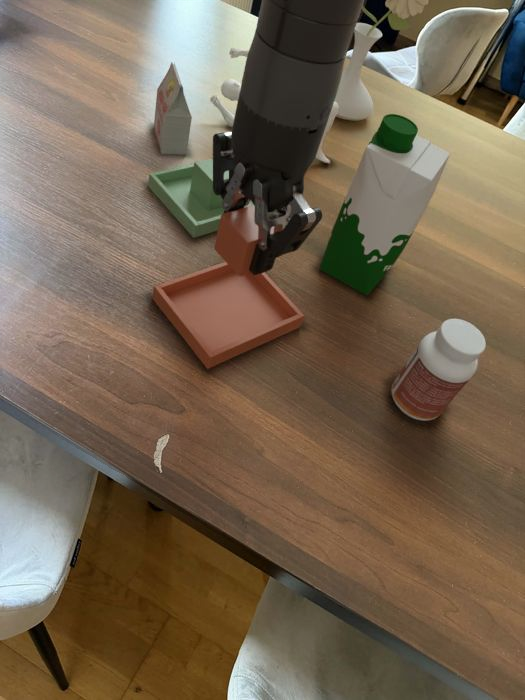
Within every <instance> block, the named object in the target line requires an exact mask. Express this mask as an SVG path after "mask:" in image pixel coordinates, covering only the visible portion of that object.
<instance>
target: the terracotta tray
mask: <svg viewBox="0 0 525 700" xmlns="http://www.w3.org/2000/svg"><path fill="white" fill-rule="evenodd" d="M152 299H153V302H154V303H156V305H157V306H158V308H159V309H160V310H161V311H162V313H163V314H164V315H165V316H166V318H167V319H168V321H170V323H171V324H172V325H173V327H174V328H175V329H176V331H177V332H178V333H179V334H180V336H181V337H182V338H183V339H184V341H185V342H186V343H187V345H188V346H189V347H190V349H191V350H192V351H193V353H194V354H195V355H196V357H197V358H198V359H199V360H200V361H201V364H203V365H204V367H205V368H206V369H207V370H209V369H212V368H213V367H215V366H217V365H219V364H222V363H223V362H227V361H229V360H230V359H233V358H235V357H237V356H240V355H241V354H243V353H246V352H248V351H250V350H253V349H255V348H257V347H260V346H263V344H266V343H268V342H270V341H272V340H275V339H277V338H279V337H282V336H283V335H286V334H288V333H290V332H292V331H295V330H297V329H299V328H301V326H302V323H303V322H304V319H305V317H306V316H305V314H304V313H303V312H302V311H301V310H300V309H299V308H298V307H297V306H296V304H294V302H293V301H292V300H291V299H290V298H289V297H288V296H287V294H285V293H284V292H283V290H282V289H281V288H280V287H279V286H278V284H276V283H275V281H273V279H272V278H271V277H270V276H269V275H268V274H267V273H266V272H264V273H261V274H257V275H253V274H252V273H251V272H250V273H248V274H245V275H242V276H238V275H237V274H236V273H235V272H234V271H233V269H232V268H231V267H230V266H229V265H228V264H227V263H226V262H225V261H223V262H219V263H217V264H214V265H212V266H211V265H210V266H208V267H205V268H202V269H200V270H197V271H194V272H191V273H188V274H185V275H182V276H179V277H176V278H174V279H169V280H167V281H164V282H162V283H159V284H156V285H154V286H153V291H152Z"/></svg>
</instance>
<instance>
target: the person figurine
mask: <svg viewBox="0 0 525 700" xmlns="http://www.w3.org/2000/svg"><path fill="white" fill-rule="evenodd" d="M248 52H249V49H248V50H247V49H244V50H243V49H237V48H235V47H231V48H230V51H229V52H228V53H229V55H230V58H231V59H234V58H235V59H236V58H239V57H246V58H247V56H248ZM241 83H242V82H240V81H238V80H237V79H233V78H228V79H226V80H224V81H223V83H222V84H221V86H220V92H221V95H222V96H223V97H224V98H225V99H228V100H230V102H231V101H232V102H238V98H239V93H240V88H241ZM209 101H210V103H211V104H213V106H214V107H216V108H217V109H218V110H219V112H220V113H221V115H222V117H223V119H224V121H225V122H226V124H227V125H228V126H229V128H233V123H234V118H235V114H233V113H232V112H231V111H230V110H229V109H228V108H227V107H226V106H225V105H224V104H223V103H222V101H221V99H220V98H219V97H218V95H216V94H215V95H212V96H211V97H210V99H209ZM338 110H339V105H338V104H337V102H335V101H334V104H333V107H332V110H331V113H330V116H329V119H328V121H327V124H326V127H325V130H324V133H323V136H322V139H321V142H320V145H319V148H318V151H317V154H316V157H315V159H314V160H317V161H320V162H322V163H325V164H331V160H330V159H329V158H327V157H326V156H325V153H324V151H323V150H322V148H323V143H324V139H326V136H327V135H328V133H329V131H330V130H331V128H332V126H333V124H334V121H335V119H336V117H335V116H336V115H337V113H338Z"/></svg>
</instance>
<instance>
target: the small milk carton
mask: <svg viewBox="0 0 525 700" xmlns="http://www.w3.org/2000/svg"><path fill="white" fill-rule="evenodd" d="M177 69H178V68H177V66H176V63H175V62H173V61H171V62H170V66H169V68H168V70H167V72H166V74H165V76H164V77H163V78H162V81H161V83H160V84H159V85H158V87H157V88H156V89H157V90H156V97H155V110H154V122H153V130H154V133H155V137H156V141H157V144H158V146H159V152H160V155H161V154H163V155H182V156H183V155H184V156H187V154H188V153H187V151H188V147H189V146H188V145H189V141H190V140H189V139H190V132H191V126H192V117H193V116H192V113H191V111H190V108H189V104H188V102H187V99H186V96H185V93H184V87H183V83H182V81H181V77H180V75H179V71H178V70H177Z"/></svg>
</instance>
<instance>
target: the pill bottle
mask: <svg viewBox="0 0 525 700" xmlns="http://www.w3.org/2000/svg"><path fill="white" fill-rule="evenodd" d="M486 343H487V342H486V339H485V336H484V334H483V333H482V332H481V331H480V329H478V328H477V327H476V326H475V325H474V324H472V323H470V322H469V321H467V320H464V319H460V318H448V319H446V320H445V321H443V322H442V323H441V324H440V326H439V328H438V329H437V330H435V331H432V332H429V333H428V334H426V335H425V336H423V338H422V339H421V340H420V341H419V343H418V345H417V346H416V348H415V350H414V351H413V352H412V353H411V355H410V357H409V358H408V360H407V361H406V362H405V364H404V365H403V366H402V368H401V370H400V372H399V373H398V375H396V377H395V379H394V380H393V383H392V385H391V396H392V400H393V402H394V403H395V405H396V406H397V408H398V409H399V410H400V411H401V412H402V413H403V414H405V415H406V416H408V417H409V418H412V419H413V420H417V421H421V422H422V421H423V422H426V421H432V420H435V419H436V418H438V417H439V416H440V415H441V414H442V413H443V412H444V411H445V409H446V408H448V406H449V405H450V404H451V402H452V401H453V400H454V399H455V398H456V397H457V395H459V393H460V392H461V391H462V390H463V388H464V387H465V386H466V385H467V384H468V382H469V381H470V379H472V378H473V376H474V375H475V374H476V372H477V370H478V364H479V361H478V359H479V358H480V357H481V355H482V354H483V352H485V349H486Z"/></svg>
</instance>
